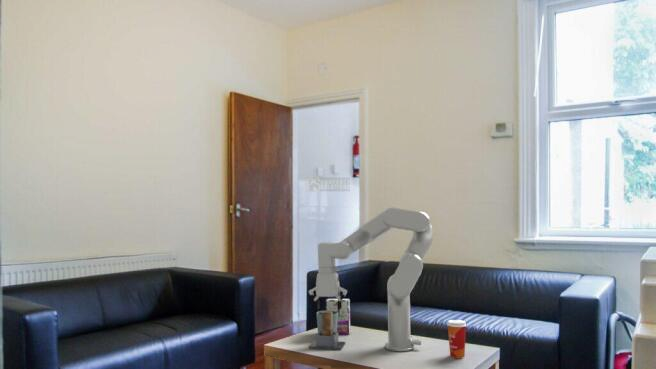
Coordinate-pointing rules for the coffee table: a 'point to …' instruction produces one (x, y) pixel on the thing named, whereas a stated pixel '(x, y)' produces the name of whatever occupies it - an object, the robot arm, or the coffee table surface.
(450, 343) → the paper cup
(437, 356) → the coffee table surface
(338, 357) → the coffee table surface
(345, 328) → the candy bar box
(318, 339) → the cup bracket
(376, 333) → the coffee table surface
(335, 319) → the green tapered container
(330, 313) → the walnut rail
